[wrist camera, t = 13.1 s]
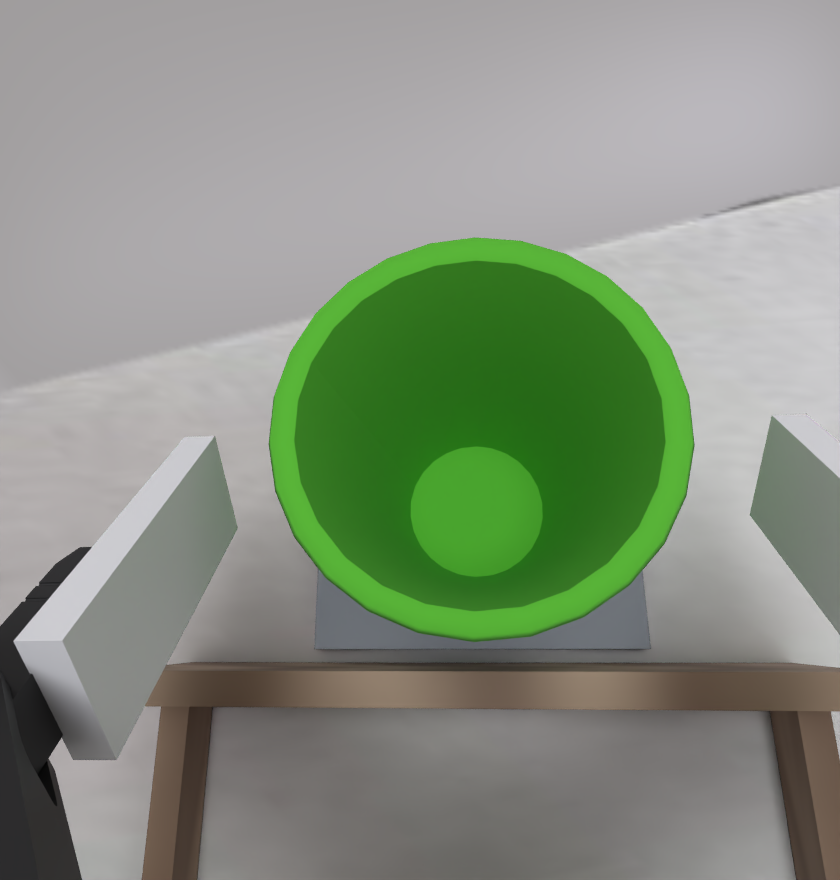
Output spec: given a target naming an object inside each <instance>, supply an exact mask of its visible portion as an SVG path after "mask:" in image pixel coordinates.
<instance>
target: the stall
mask: <svg viewBox="0 0 840 880" xmlns="http://www.w3.org/2000/svg"><path fill="white" fill-rule="evenodd" d="M145 706H161V713H160V722H159V731H158V740H157V749H156V758H155V766H154V775H153V784H152V793H151V802H150V811H149V820H148V829H147V838H146V847H145V855H144V864H143V873H142V880H197V873H198V862H199V850H200V839H201V828H202V817H203V806H204V794H205V783H206V772H207V761H208V750H209V739H210V727H211V716H212V707H309V708H447V709H585V710H724V711H770V715H771V721H772V727H773V734H774V740H775V746H776V753H777V759H778V765H779V771H780V778H781V784H782V790H783V797H784V803H785V809H786V816H787V822H788V828H789V834H790V841H791V847H792V853H793V860H794V866H795V872H796V879H797V880H840V760H839V755H838V749H837V744H836V738H835V733H834V728H833V722H832V717H831V711H840V668H835V667H825V666H816V665H806V664H797V663H280V662H190V663H181V664H173V665H166V666H165V668H164V670H163V672H162V674H161V676H160V678H159V680H158V681H157V683H156V685H155V687H154V689H153V691H152V693H151V695H150V697H149V699H148V701H147V702H146V704H145Z"/></svg>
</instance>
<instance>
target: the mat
mask: <svg viewBox="0 0 840 880" xmlns="http://www.w3.org/2000/svg"><path fill="white" fill-rule="evenodd" d="M314 649H651V645H650V636H649V627H648V618H647V609H646V600H645V590H644V581H643V572H642V571H641V572H640V574H639V575H638V576H637V577H636V578H635V580H634V581H633V582H632V583H631V584H630V586H628V587H627V588H625V589H624V590H622V591H621V592H620V593H618V594H617V595H615V596H614V597H612V598H611V599H609V600H608V601H607V602H605V603H604V604H602V605H601V606H599V607H598V608H597V609H595V610H594V611H592V612H591V613H589V614H588V615H587V616H585V617H584V618H581V619H578V620H575V621H573V622H570V623H567V624H564V625H562V626H559V627H556V628H553V629H551V630H548V631H545V632H542V633H540V634H537V635H534V636H531V637H523V638H513V639H502V640H491V641H481V642H470V641H464V640H457V639H451V638H445V637H439V636H432V635H426V634H420V633H417V632H414V631H412V630H410V629H407V628H405V627H403V626H400V625H398V624H396V623H394V622H391V621H389V620H387V619H384V618H382V617H380V616H378V615H375V614H373V613H371V612H368V611H367V610H366V609H364V608H363V607H362V606H360V605H359V604H358V603H357V602H355V601H354V600H353V599H352V598H350V597H349V596H348V595H346V594H345V593H344V592H343V591H341V590H340V589H339V588H337V587H336V586H335V585H334V584H332V583H331V582H330V581H329V580H327V579H326V578H325V577H324V575H323V574H322V573H321V571H320V570H319V569H318V582H317V604H316V626H315V648H314Z"/></svg>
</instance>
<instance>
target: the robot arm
mask: <svg viewBox="0 0 840 880" xmlns="http://www.w3.org/2000/svg"><path fill="white" fill-rule="evenodd" d="M750 516H751V517H752V518H753V520H754V521H755V522H756V524H757V525H758V526H759V528H760V529H761V530H762V532H763V533H764V534H765V536H766V537H767V538H768V540H769V541H770V542H771V544H772V545H773V546H774V548H775V549H776V550H777V552H778V553H779V554H780V556H781V557H782V558H783V560H784V561H785V562H786V564H787V565H788V566H789V568H790V569H791V570H792V572H793V573H794V574H795V576H796V577H797V578H798V580H799V581H800V582H801V584H802V585H803V586H804V588H805V589H806V590H807V592H808V593H809V594H810V596H811V597H812V598H813V600H814V601H815V602H816V604H817V605H818V606H819V608H820V609H821V610H822V612H823V613H824V614H825V616H826V617H827V618H828V620H829V621H830V622H831V624H832V625H833V626H834V628H835V629H836V630H837V632H838V633H839V634H840V441H839V440H837V439H836V438H835V437H834V436H833V435H831V434H830V433H829V432H828V431H827V430H825V429H824V428H823V427H822V426H821V425H819V424H818V423H817V422H816V421H815V420H813V419H812V418H811V417H810V416H809V415H807V414H790V415H772V417H771V422H770V426H769V431H768V435H767V440H766V444H765V449H764V453H763V458H762V462H761V467H760V471H759V476H758V480H757V485H756V489H755V494H754V498H753V503H752V507H751V512H750ZM236 530H237V524H236V520H235V515H234V511H233V507H232V503H231V499H230V495H229V491H228V487H227V483H226V479H225V475H224V471H223V467H222V463H221V459H220V455H219V451H218V447H217V443H216V438H215V436H199V437H184V438H183V439H182V441H181V442H180V443H179V444H178V445H177V447H176V448H175V449H174V450H173V451H172V453H171V454H170V455H169V456H168V457H167V458H166V460H165V461H164V462H163V463H162V464H161V466H160V467H159V468H158V469H157V470H156V472H155V473H154V474H153V475H152V476H151V478H150V479H149V480H148V481H147V482H146V484H145V485H144V486H143V487H142V488H141V489H140V491H139V492H138V493H137V494H136V495H135V497H134V498H133V499H132V500H131V501H130V503H129V504H128V505H127V506H126V507H125V509H124V510H123V511H122V512H121V513H120V515H119V516H118V517H117V518H116V519H115V520H114V522H113V523H112V524H111V525H110V526H109V528H108V529H107V530H106V531H105V532H104V534H103V535H102V536H101V537H100V538H99V540H98V541H97V542H96V543H95V544H94V546H93V547H80V548H78V549H77V550H75V551H74V552H72V553H71V554H69V555H68V556H67V557H65V558H64V559H62V560H61V561H59V562H58V563H56V564H55V565H54V566H53V568H52V569H51V570H50V571H49V572H48V573H47V574H46V575H45V577H44V578H43V579H42V580H41V581H40V582H39V586H36V587H35V588H34V589H33V590H32V591H31V592H30V593H29V595H28V596H27V597H26V601H25V602H21V604H20V605H19V606H18V607H17V608H16V609H15V610H14V611H13V613H12V614H11V615H10V616H9V617H8V618H7V619H6V620H5V622H4V623H3V624H2V625H1V626H0V880H82V878H81V874H80V870H79V866H78V862H77V858H76V854H75V850H74V846H73V842H72V838H71V834H70V830H69V826H68V822H67V818H66V814H65V809H64V805H63V801H62V797H61V793H60V789H59V785H58V781H57V777H56V773H55V770H54V768H53V766H52V764H51V762H50V761H49V759H48V758H49V756H50V755H51V753H52V752H53V750H54V749H55V747H56V745H57V744H58V742H59V741H60V739H61V737H62V739H63V741H64V743H65V745H66V747H67V749H68V751H69V753H70V754H71V756H72V758H73V760H117V758H118V756H119V754H120V752H121V750H122V748H123V746H124V745H125V743H126V741H127V739H128V737H129V735H130V733H131V731H132V729H133V727H134V725H135V724H136V722H137V720H138V718H139V716H140V714H141V712H142V710H143V708H144V706H145V704H146V702H147V701H148V699H149V697H150V695H151V693H152V691H153V689H154V687H155V685H156V683H157V681H158V680H159V678H160V676H161V674H162V672H163V670H164V668H165V666H166V664H167V662H168V660H169V658H170V657H171V655H172V653H173V651H174V649H175V647H176V645H177V643H178V641H179V639H180V637H181V636H182V634H183V632H184V630H185V628H186V626H187V624H188V622H189V620H190V618H191V616H192V615H193V613H194V611H195V609H196V607H197V605H198V603H199V601H200V599H201V597H202V595H203V593H204V592H205V590H206V588H207V586H208V584H209V582H210V580H211V578H212V576H213V574H214V572H215V571H216V569H217V567H218V565H219V563H220V561H221V559H222V557H223V555H224V553H225V551H226V549H227V548H228V546H229V544H230V542H231V540H232V538H233V536H234V534H235V532H236Z"/></svg>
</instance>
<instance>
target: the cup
mask: <svg viewBox="0 0 840 880" xmlns="http://www.w3.org/2000/svg"><path fill="white" fill-rule="evenodd" d="M269 450H270V457H271V464H272V471H273V478H274V485H275V492H276V494H277V496H278V499H279V501H280V504H281V506H282V508H283V511H284V513H285V516H286V518H287V520H288V523H289V525H290V528H291V530H292V532H293V535H294V537H295V539H296V540H297V541H298V543H299V544H300V545H301V546H302V548H303V549H304V550H305V552H306V553H307V554H308V556H309V557H310V558H311V560H312V561H313V562H314V564H315V565H316V566H317V568H318V569H319V570H320V571H321V573H322V574H323V575H324V577H325V578H326V579H327V580H329V581H330V582H331V583H332V584H334V585H335V586H336V587H337V588H339V589H340V590H341V591H343V592H344V593H345V594H346V595H348V596H349V597H350V598H352V599H353V600H354V601H355V602H357V603H358V604H359V605H360V606H362V607H363V608H364V609H366V610H367V611H368V612H371V613H373V614H375V615H378V616H380V617H382V618H384V619H387V620H389V621H391V622H394V623H396V624H398V625H400V626H403V627H405V628H407V629H410V630H412V631H414V632H417V633H420V634H426V635H432V636H439V637H445V638H451V639H457V640H464V641H470V642H481V641H491V640H502V639H513V638H523V637H531V636H534V635H537V634H540V633H542V632H545V631H548V630H551V629H553V628H556V627H559V626H562V625H564V624H567V623H570V622H573V621H575V620H578V619H581V618H584V617H585V616H587V615H588V614H589V613H591V612H592V611H594V610H595V609H597V608H598V607H599V606H601V605H602V604H604V603H605V602H607V601H608V600H609V599H611V598H612V597H614V596H615V595H617V594H618V593H620V592H621V591H622V590H624V589H625V588H627V587H628V586H630V584H631V583H632V582H633V581H634V580H635V578H636V577H637V576H638V575H639V574H640V572H641V571H642V570H643V569H644V568H645V566H646V565H647V564H648V563H649V562H650V560H651V559H652V558H653V557H654V556H655V554H656V553H657V552H658V551H659V550H660V548H661V547H662V546H663V545H664V544H665V541H666V539H667V537H668V535H669V533H670V530H671V528H672V526H673V524H674V522H675V520H676V517H677V515H678V513H679V511H680V509H681V506H682V504H683V502H684V500H685V498H686V495H687V488H688V482H689V476H690V470H691V463H692V457H693V451H694V437H693V428H692V418H691V409H690V400H689V394H688V392H687V389H686V386H685V384H684V381H683V379H682V376H681V373H680V371H679V368H678V365H677V363H676V360H675V358H674V355H673V352H672V350H671V348H670V346H669V345H668V343H667V342H666V341H665V339H664V338H663V336H662V335H661V333H660V332H659V331H658V329H657V328H656V326H655V325H654V323H653V322H652V321H651V319H650V318H649V316H648V315H647V313H646V312H645V311H644V309H643V308H642V307H641V306H640V305H639V304H638V303H637V302H635V301H634V300H633V299H632V298H631V297H630V296H629V295H628V294H626V293H625V292H624V291H623V290H622V289H621V288H620V287H618V286H617V285H616V284H615V283H614V282H613V281H612V280H611V279H609V278H608V277H607V276H605V275H603V274H602V273H600V272H598V271H596V270H594V269H592V268H591V267H589V266H587V265H585V264H583V263H581V262H580V261H578V260H576V259H574V258H572V257H570V256H569V255H567V254H564V253H561V252H557V251H554V250H550V249H547V248H543V247H540V246H536V245H533V244H530V243H526V242H523V241H514V240H499V239H487V238H469V239H461V240H453V241H447V242H438V243H431V244H427V245H425V246H422V247H419V248H416V249H413V250H410V251H408V252H405V253H402V254H399V255H396V256H393V257H390V258H388V259H386V260H384V261H382V262H381V263H379V264H378V265H376V266H374V267H373V268H371V269H369V270H368V271H366V272H365V273H363V274H361V275H360V276H358V277H356V278H355V279H353V280H351V281H350V282H348V283H347V284H346V285H345V286H344V287H343V288H342V289H341V290H340V291H339V292H338V293H337V294H336V295H335V296H334V297H333V298H331V299H330V300H329V301H328V302H327V303H326V304H325V305H324V306H323V307H322V308H321V309H320V310H319V311H318V312H317V313H316V314H315V315H314V317H313V319H312V320H311V322H310V323H309V325H308V326H307V328H306V329H305V331H304V332H303V334H302V335H301V337H300V338H299V340H298V341H297V343H296V344H295V346H294V347H293V349H292V350H291V352H290V354H289V357H288V360H287V363H286V365H285V368H284V371H283V374H282V376H281V379H280V382H279V385H278V387H277V390H276V393H275V396H274V400H273V409H272V418H271V428H270V437H269Z"/></svg>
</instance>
